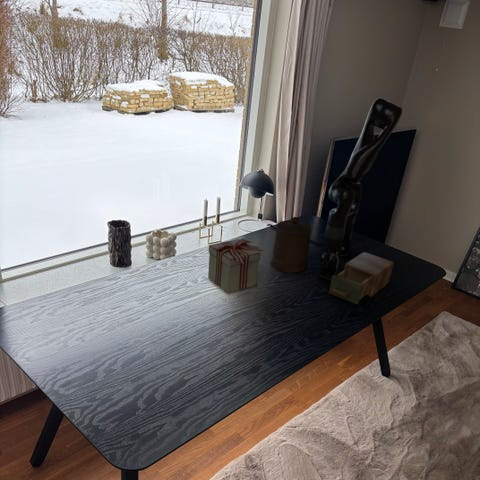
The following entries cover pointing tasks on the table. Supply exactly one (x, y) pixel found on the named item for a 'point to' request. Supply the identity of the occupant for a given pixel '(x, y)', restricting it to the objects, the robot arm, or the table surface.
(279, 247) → the wooden container
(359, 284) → the drawer
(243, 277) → the gift box
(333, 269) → the battery charger
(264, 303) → the table surface
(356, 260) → the cabinet
